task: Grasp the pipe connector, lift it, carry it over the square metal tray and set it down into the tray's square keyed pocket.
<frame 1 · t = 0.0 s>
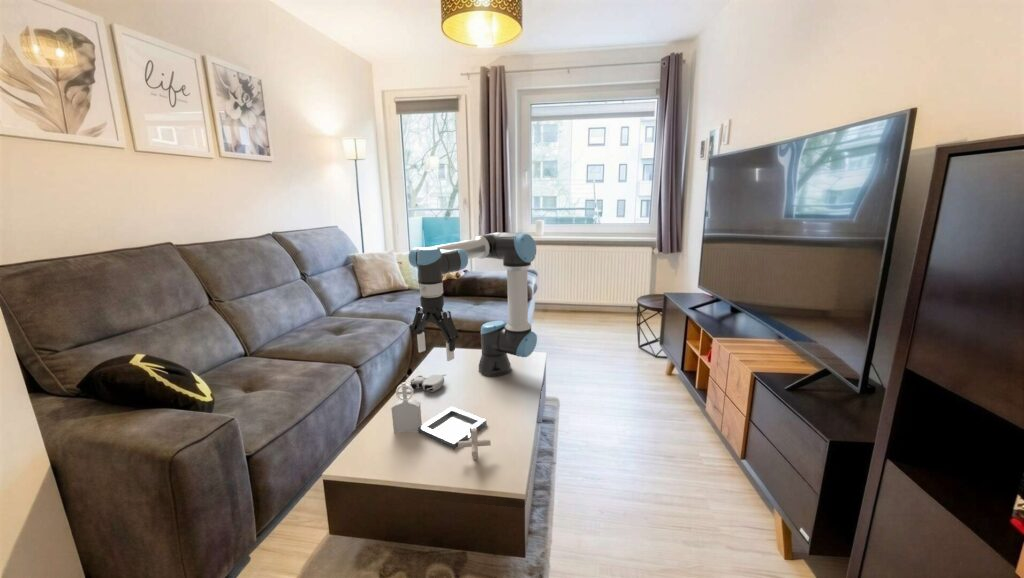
hand: (436, 355, 138), 28 cm above the table, fingers open, 13 cm apart
pipe connector: (475, 458, 128), on the table
square metal tray: (452, 428, 144), on the table
robot toy: (427, 388, 175), on the table
gravestone: (408, 429, 145), on the table
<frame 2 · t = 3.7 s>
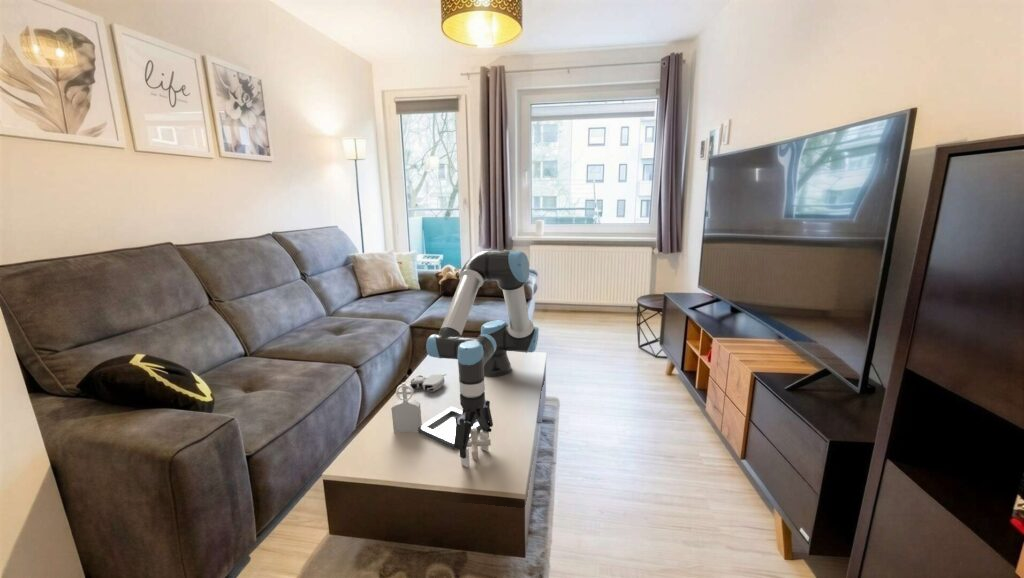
hand: (475, 457, 128), 0 cm above the table, fingers closed on pipe connector, 9 cm apart
pipe connector: (475, 458, 128), on the table, touching gripper
everything else where it was.
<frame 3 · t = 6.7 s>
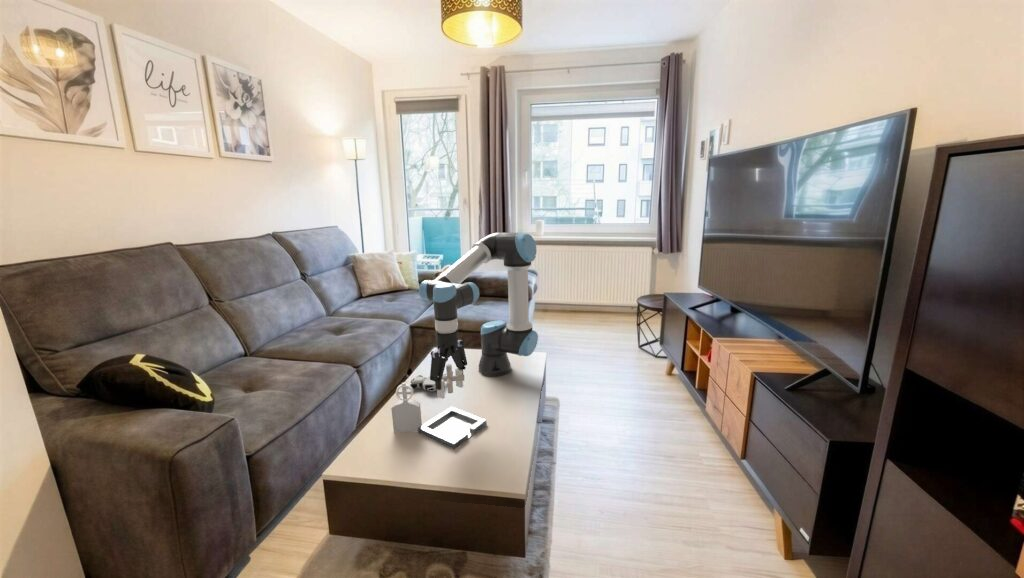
hand: (450, 391, 141), 15 cm above the table, fingers closed on pipe connector, 9 cm apart
pipe connector: (450, 392, 141), point 14 cm above the table, touching gripper
everything else where it was.
when the fingers open (2 cm above the table, at t = 9.2 s): pipe connector drops 2 cm, resting on square metal tray.
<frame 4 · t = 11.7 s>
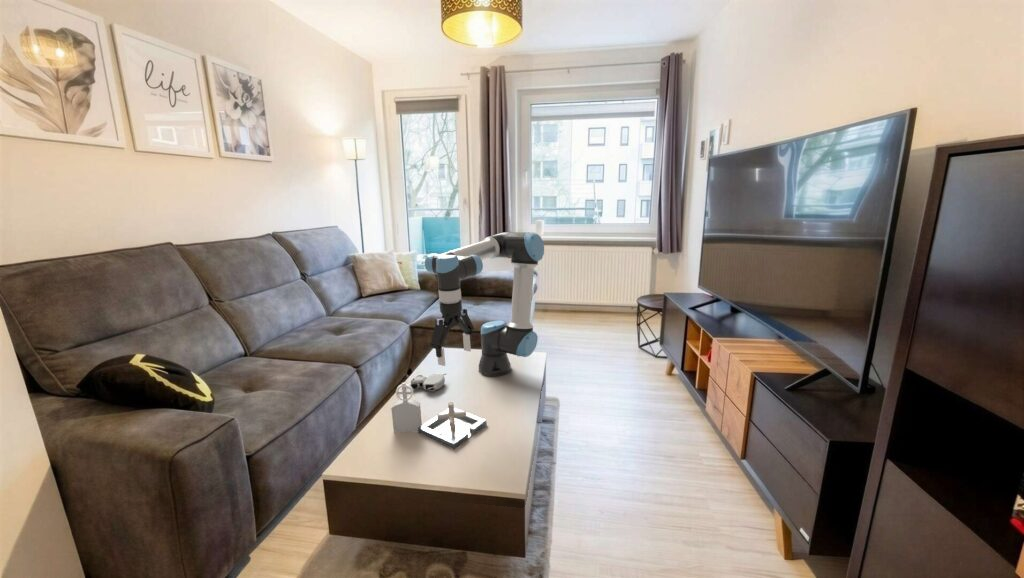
hand: (455, 357, 145), 24 cm above the table, fingers open, 13 cm apart
pipe connector: (452, 428, 144), resting on square metal tray
everything else where it was.
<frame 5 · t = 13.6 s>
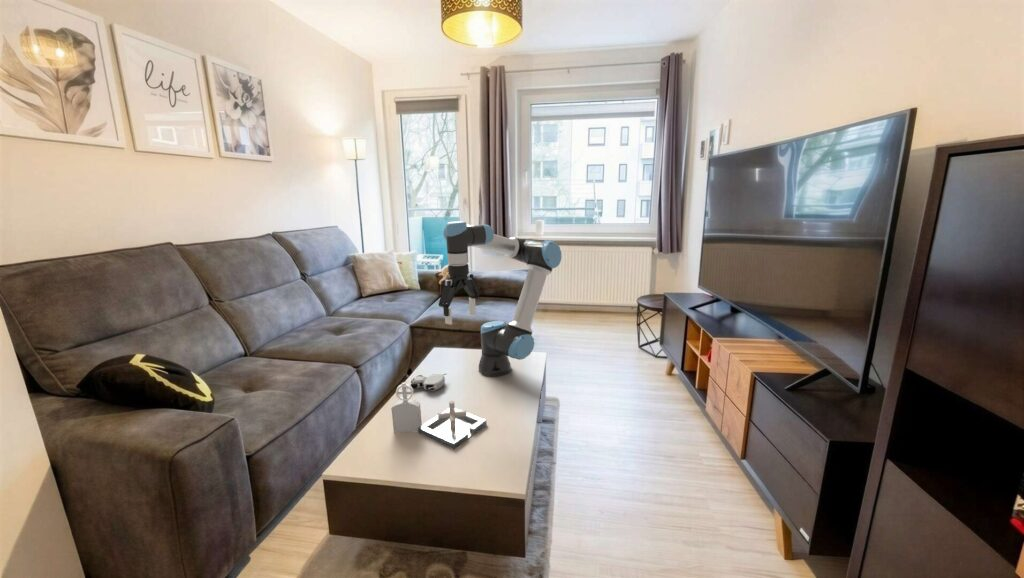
hand: (461, 319, 155), 35 cm above the table, fingers open, 13 cm apart
at the end: pipe connector inside the target area on the square metal tray (0.1 cm from its centre), point 0.2 cm above the square metal tray's base; pipe connector tilted 4°; the gripper is holding nothing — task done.
